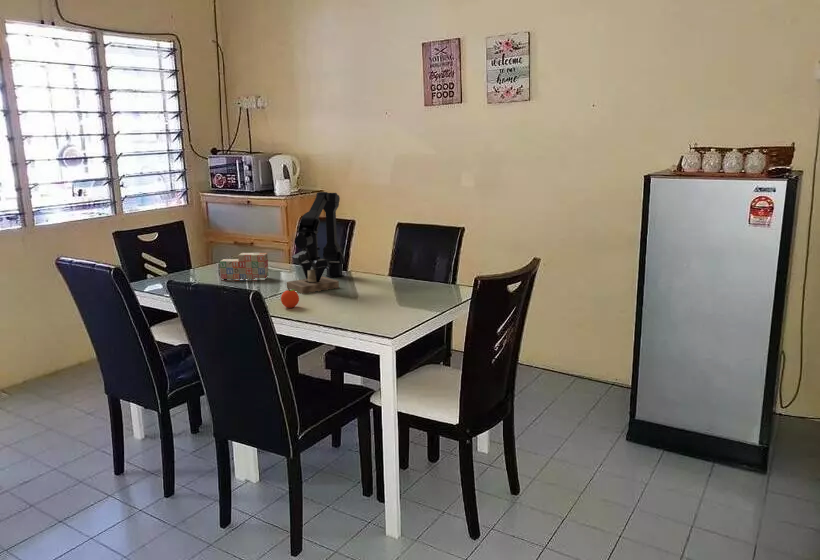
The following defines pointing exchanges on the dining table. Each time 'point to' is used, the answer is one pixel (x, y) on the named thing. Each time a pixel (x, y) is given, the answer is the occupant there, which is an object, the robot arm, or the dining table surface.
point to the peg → (311, 276)
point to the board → (312, 285)
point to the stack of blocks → (245, 266)
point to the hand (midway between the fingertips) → (312, 280)
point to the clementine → (290, 298)
